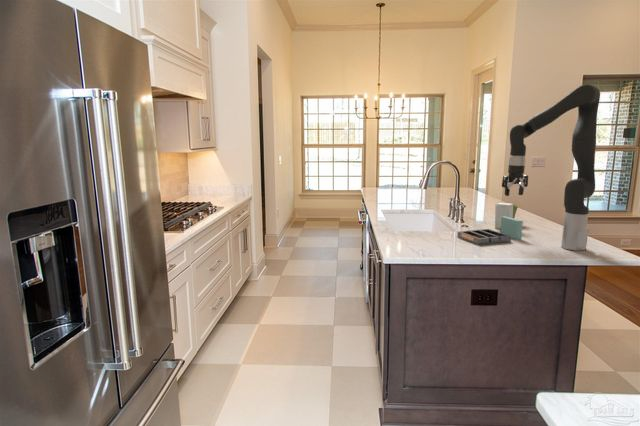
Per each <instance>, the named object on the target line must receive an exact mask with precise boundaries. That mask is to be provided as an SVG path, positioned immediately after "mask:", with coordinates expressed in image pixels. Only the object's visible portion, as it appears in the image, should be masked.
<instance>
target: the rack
mask: <svg viewBox="0 0 640 426" xmlns="http://www.w3.org/2000/svg"><path fill="white" fill-rule="evenodd" d="M457 238H459V239H461V240H463V241H464V240H465V241H467V242H469V243H472V244H474V245H477V246H482V245H492V244H493V245H495V244H501V243H511V242H512V238H511V236H509V235H506V234H503V233H500V231H496V230H493V229H490V228H482V229H472V230H470V229H469V230H460V231H459V230H458V231H457Z"/></svg>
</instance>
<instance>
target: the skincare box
mask: <svg viewBox="0 0 640 426" xmlns="http://www.w3.org/2000/svg"><path fill="white" fill-rule="evenodd" d="M513 205H514V203H511V202H510V203H507V202H498V203H496V204H495V214H494V216H495V217H494V229H497V230H500V228H501V217H504V216H506V217H510V218H513Z"/></svg>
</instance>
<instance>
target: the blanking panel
mask: <svg viewBox="0 0 640 426" xmlns="http://www.w3.org/2000/svg"><path fill="white" fill-rule="evenodd" d="M523 222H524V220H521V219H518V218H515V217H514V218H510V217H506V216H504V217H501V228H500V229H499V230H500V231H499V232H500V233H503V234H506V235H509V236H511V240H517V241H519V240H522V234H523V232H522V231H523Z"/></svg>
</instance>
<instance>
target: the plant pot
mask: <svg viewBox="0 0 640 426" xmlns="http://www.w3.org/2000/svg"><path fill="white" fill-rule="evenodd" d="M518 208H519V205H518V204H517V205H516V204H513V218H514V219H515V217H516V214H517V210H518Z"/></svg>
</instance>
